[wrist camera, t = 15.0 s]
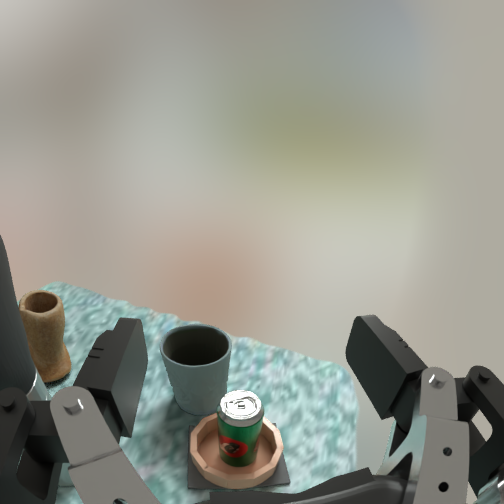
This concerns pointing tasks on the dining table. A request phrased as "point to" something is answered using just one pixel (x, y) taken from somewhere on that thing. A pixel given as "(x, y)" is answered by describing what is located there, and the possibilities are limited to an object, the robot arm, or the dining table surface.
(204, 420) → the bowl
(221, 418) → the soda can
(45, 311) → the tan boot
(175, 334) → the grey-green tumbler
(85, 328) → the dining table surface
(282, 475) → the mat
